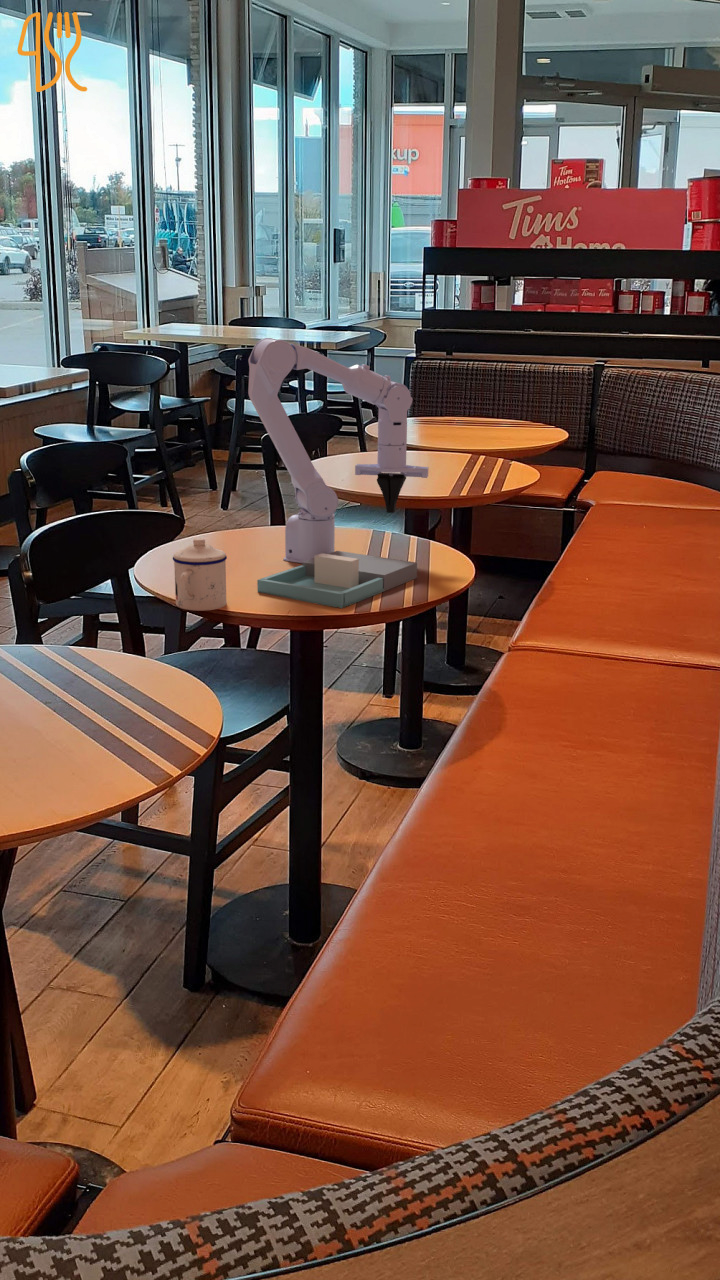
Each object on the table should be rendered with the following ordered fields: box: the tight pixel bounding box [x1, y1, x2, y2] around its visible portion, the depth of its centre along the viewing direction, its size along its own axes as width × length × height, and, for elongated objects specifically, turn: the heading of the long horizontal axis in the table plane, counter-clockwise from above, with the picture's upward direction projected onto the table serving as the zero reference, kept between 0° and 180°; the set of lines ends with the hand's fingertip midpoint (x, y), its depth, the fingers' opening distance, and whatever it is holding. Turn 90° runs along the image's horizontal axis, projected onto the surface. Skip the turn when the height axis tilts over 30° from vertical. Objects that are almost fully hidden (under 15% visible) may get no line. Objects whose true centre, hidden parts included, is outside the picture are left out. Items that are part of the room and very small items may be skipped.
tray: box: [256, 565, 385, 609], centre depth 205 cm, size 18×14×2 cm
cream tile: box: [314, 553, 359, 588], centre depth 208 cm, size 8×5×2 cm
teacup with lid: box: [172, 537, 228, 612], centre depth 193 cm, size 12×9×12 cm
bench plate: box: [301, 550, 418, 592], centre depth 215 cm, size 18×12×3 cm, turn 58°
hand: (390, 511), depth 229 cm, fingers closed
